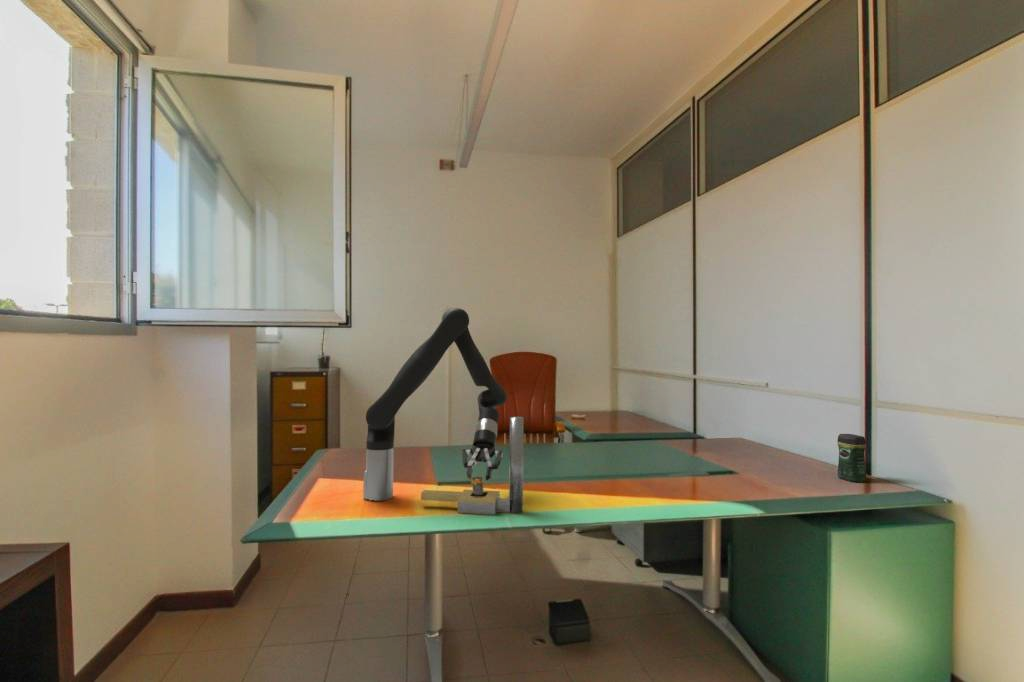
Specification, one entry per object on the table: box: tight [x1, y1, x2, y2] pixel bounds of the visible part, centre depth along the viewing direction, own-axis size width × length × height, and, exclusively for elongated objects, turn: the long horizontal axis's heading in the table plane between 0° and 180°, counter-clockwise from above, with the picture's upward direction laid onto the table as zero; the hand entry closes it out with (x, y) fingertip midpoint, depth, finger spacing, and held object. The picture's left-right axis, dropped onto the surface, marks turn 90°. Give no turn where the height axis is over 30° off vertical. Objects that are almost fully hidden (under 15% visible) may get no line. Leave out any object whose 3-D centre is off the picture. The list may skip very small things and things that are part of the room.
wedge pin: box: [471, 476, 484, 497], centre depth 164 cm, size 4×4×10 cm
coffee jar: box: [837, 433, 868, 483], centre depth 207 cm, size 10×8×19 cm
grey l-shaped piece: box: [420, 416, 524, 516], centre depth 164 cm, size 33×9×30 cm, turn 82°
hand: (478, 478), depth 162 cm, fingers open, 5 cm apart
